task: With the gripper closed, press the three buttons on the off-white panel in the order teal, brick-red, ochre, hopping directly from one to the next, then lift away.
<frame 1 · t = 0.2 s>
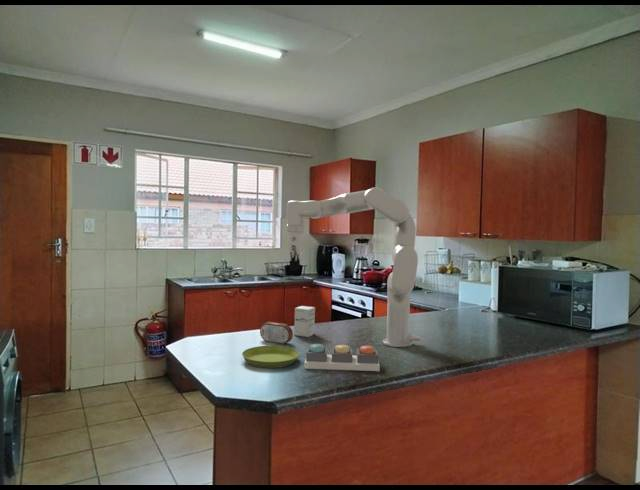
hand: (294, 269, 188), 31 cm above the table, tool pointing down, fingers open, 9 cm apart
tin: (275, 343, 186), on the table
button panel: (341, 364, 156), on the table
saucer: (270, 362, 160), on the table
ochre button: (342, 350, 156), point 5 cm above the table, slide at 0.0 cm
supplement box: (304, 335, 200), on the table
brick button: (367, 351, 156), point 5 cm above the table, slide at 0.0 cm
teal button: (317, 349, 157), point 5 cm above the table, slide at 0.0 cm
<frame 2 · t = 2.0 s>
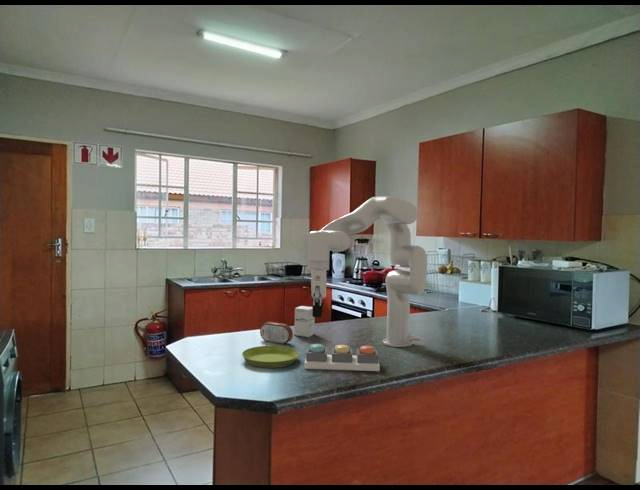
hand: (317, 314, 156), 18 cm above the table, tool pointing down, fingers open, 7 cm apart
nothing on the table moved.
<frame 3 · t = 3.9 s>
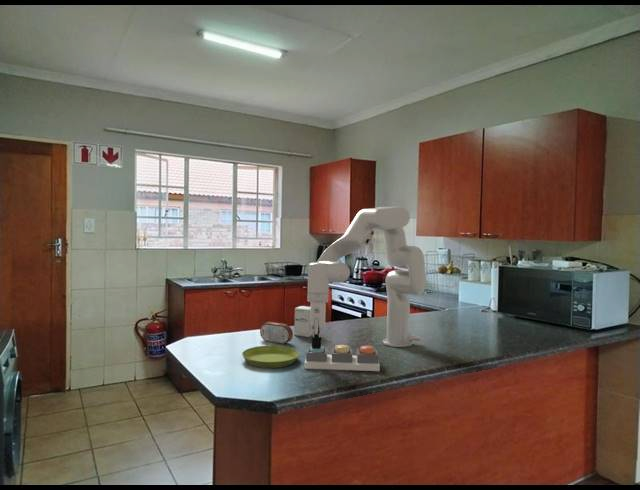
hand: (316, 347, 156), 6 cm above the table, tool pointing down, fingers closed
teal button: (317, 352, 157), point 4 cm above the table, slide at 0.8 cm, touching gripper
everything else where it was.
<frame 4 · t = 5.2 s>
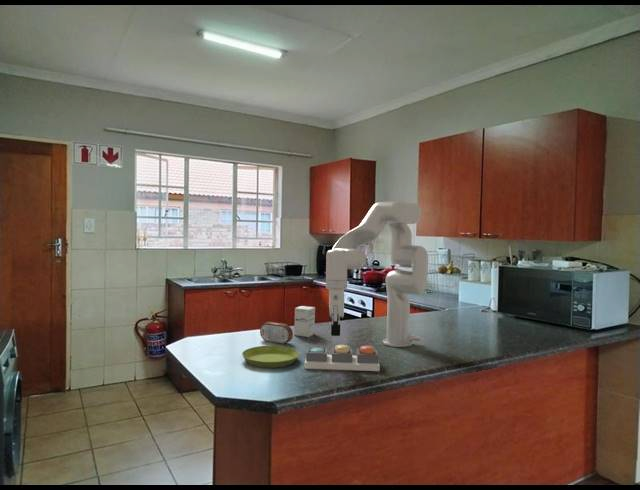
hand: (335, 335, 156), 11 cm above the table, tool pointing down, fingers closed
teal button: (316, 354, 157), point 4 cm above the table, slide at 1.5 cm
everything else where it was.
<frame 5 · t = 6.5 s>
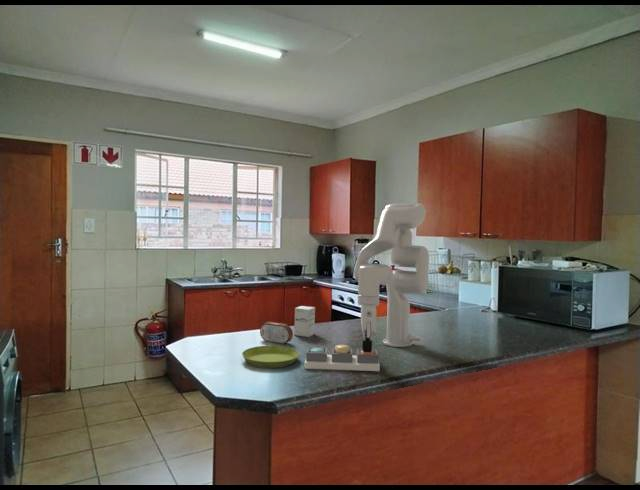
hand: (367, 351, 156), 5 cm above the table, tool pointing down, fingers closed
brick button: (367, 355, 156), point 4 cm above the table, slide at 1.4 cm, touching gripper
everything else where it was.
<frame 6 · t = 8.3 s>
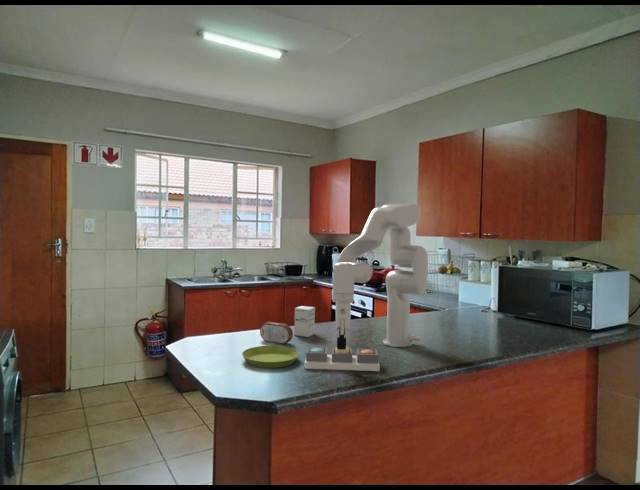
hand: (341, 348, 156), 6 cm above the table, tool pointing down, fingers closed
ochre button: (342, 352, 156), point 4 cm above the table, slide at 0.7 cm, touching gripper
brick button: (367, 355, 156), point 4 cm above the table, slide at 1.5 cm
everything else where it was.
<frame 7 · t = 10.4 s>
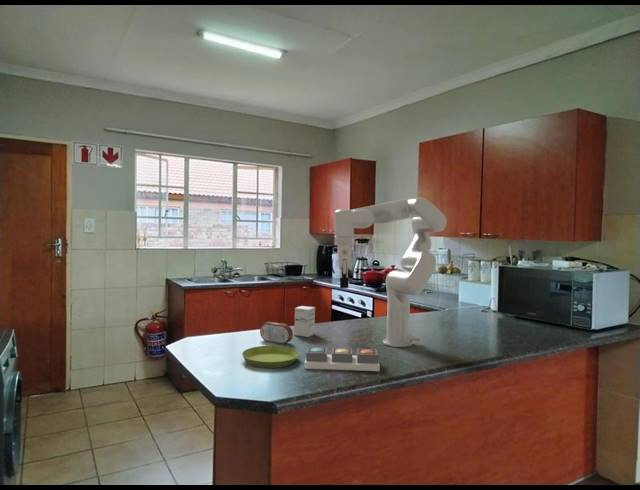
hand: (344, 287, 172), 26 cm above the table, tool pointing down, fingers closed
ochre button: (342, 354, 156), point 4 cm above the table, slide at 1.5 cm
everything else where it was.
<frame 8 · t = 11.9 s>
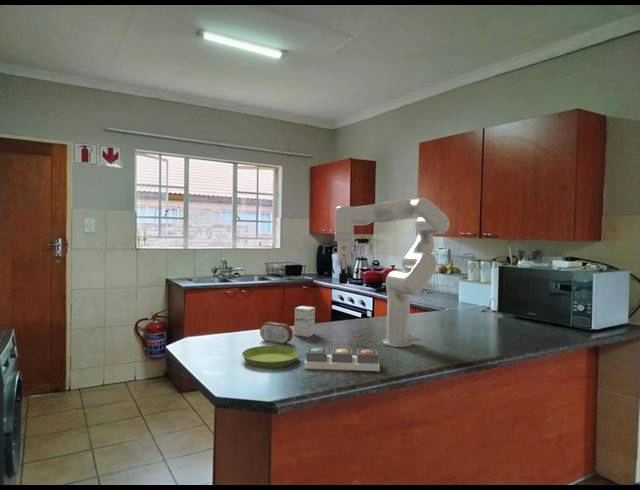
hand: (343, 283, 173), 27 cm above the table, tool pointing down, fingers closed
nothing on the table moved.
at the end: teal button slide at 1.5 cm; brick button slide at 1.5 cm; ochre button slide at 1.5 cm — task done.
